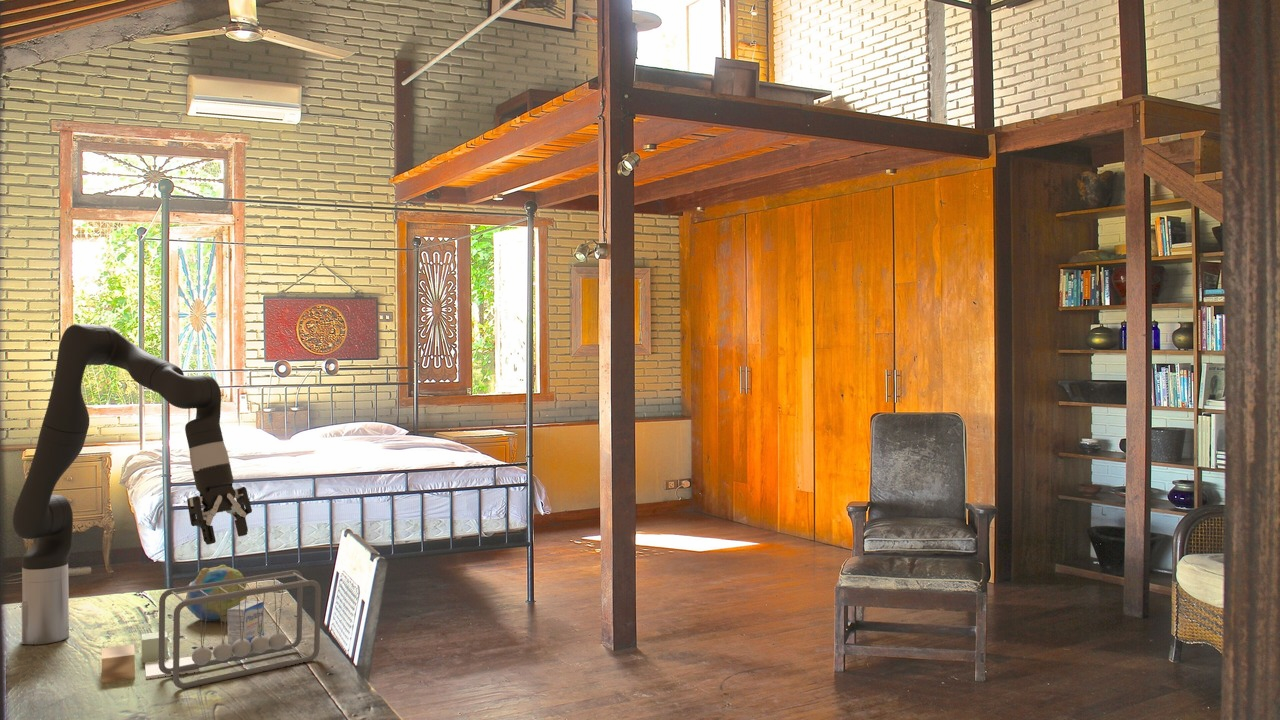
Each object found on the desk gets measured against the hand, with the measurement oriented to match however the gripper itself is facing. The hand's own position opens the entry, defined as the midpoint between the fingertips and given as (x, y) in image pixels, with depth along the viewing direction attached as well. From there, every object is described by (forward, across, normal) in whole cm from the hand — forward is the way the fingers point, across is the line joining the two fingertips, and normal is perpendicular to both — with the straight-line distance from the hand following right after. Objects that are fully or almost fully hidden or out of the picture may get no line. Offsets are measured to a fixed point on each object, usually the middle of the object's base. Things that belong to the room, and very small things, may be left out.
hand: (227, 539), depth 217 cm
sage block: (+21, +5, -24) cm, 32 cm away
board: (+23, +9, -14) cm, 29 cm away
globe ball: (+19, -24, -35) cm, 47 cm away
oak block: (+22, +16, -21) cm, 34 cm away
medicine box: (+24, -12, -15) cm, 31 cm away
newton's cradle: (+27, +3, -1) cm, 27 cm away
